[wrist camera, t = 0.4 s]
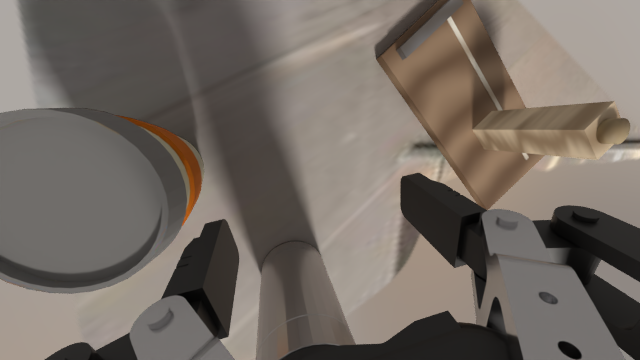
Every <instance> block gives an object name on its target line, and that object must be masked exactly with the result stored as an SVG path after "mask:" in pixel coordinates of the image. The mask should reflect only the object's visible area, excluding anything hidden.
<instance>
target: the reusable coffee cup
mask: <svg viewBox="0 0 640 360" xmlns="http://www.w3.org/2000/svg"><path fill="white" fill-rule="evenodd" d="M203 178H204V164H203V161H202V158H201V156H200V155H199V153H198V151H197V150H196V149H195V148H194V146H193V145H191V144H190V143H189V142H188V141H186V140H185V139H183V138H181V137H179V136H176V135H175V134H173V133H171V132H169V131H168V130H166V129H163V128H161V127H158V126H155V125H152V124H149V123H146V122H142V121H139V120H136V119H132V118H128V117H123V116H117V115H113V114H110V113H107V112H102V111H97V110H92V109H86V108H46V109H22V110H17V111H10V112H4V113H0V279H1V280H3V281H5V282H8V283H11V284H14V285H17V286H20V287H23V288H26V289H31V290H36V291H42V292H48V293H69V294H73V293H81V292H90V291H95V290H99V289H102V288H106V287H110V286H112V285H115V284H117V283H119V282H121V281H123V280H125V279H128V278H129V277H131V276H132V275H133V274H135V273H136V272H138V271H139V270H141V269H142V268H143V267H144V266H146V265H147V264H148V263H149V262H151V261H152V260H153V259H154V258H155V257H157V256H158V255H159V254H160V253H162V252H163V251H164V250H165V249H166V248H167V247H168V246H169V245H170V243H171V242H172V241H173V240H174V239H175V237H176V235H177V234H178V232H179V231H180V229H181V227H182V226H183V224H184V223H185V221H186V220H187V218H188V216H189V215H190V213H191V211H192V209H193V207H194V205H195V203H196V201H197V199H198V197H199V194H200V191H201V184H202V181H203Z"/></svg>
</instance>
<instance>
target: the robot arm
mask: <svg viewBox="0 0 640 360" xmlns="http://www.w3.org/2000/svg"><path fill="white" fill-rule="evenodd" d="M401 210H402V213H403V215H404V217H405V218H406V219H407V220H408V221H409V222H410V223H411V224H412V225H413V226H414V227H415V228H416V229H417V230H418V231H419V232H420V233H421V234H422V235H423V236H424V237H425V238H426V239H427V241H429V242H430V244H431V245H432V246H433V247H434V248H435V249H436V250H437V251H438V252H439V253H440V254H441V255H442V256H443V257H444V258H445V259H446V260H447V261H448V262H449V263H450V264H451V265H452V266H453V267H454V268H456V267H459V266H463V265H466V264H467V265H468V266H469V267H470V268H471V269H472V271H471V279H472V287H473V296H474V305H475V313H476V324H471V323H461V322H459V323H458V322H456V321H455V319H454V318H453V317H452V315H451V314H450V313H449V312H448V311H445V312H442V313H439V314H436V315H433V316H430V317H426V318H423V319H420V320H417V321H414V322H413V323H411V324H410V325H409V326H407V327H406V328H404V329H403V330H402V331H400V332H399V333H397V334H396V335H395V336H393V337H392V338H391V339H389V340H388V341H386V342H385V343H382V344H363V345H356V343H355V341H354V339H353V336H352V334H351V331H350V329H349V326H348V324H347V321H346V319H345V316H344V314H343V311H342V308H341V306H340V303H339V301H338V298H337V296H336V293H335V291H334V288H333V286H332V283H331V281H330V278H329V276H328V273H327V270H326V268H325V265H324V263H323V260H322V258H321V255H320V254H319V252H318V251H317V250H316V249H315V248H314V247H313V246H311V245H309V244H307V243H304V242H298V241H293V242H287V243H283V244H281V245H279V246H277V247H276V248H274V249H273V250H272V251H271V252H270V253H269V254H268V255H267V257H266V258H265V260H264V262H263V266H262V274H261V287H260V302H259V317H258V333H257V348H256V360H626V359H625V358H624V356H623V354H622V352H621V351H620V349H619V347H620V348H621V349H622V350H624V351H625V352H626V353H627V354H628V355H630V356H631V357H632V358H633V359H635V360H640V303H639V302H637V301H635V300H634V299H632V298H631V297H629V296H627V295H626V294H625V293H623V292H622V291H620V290H618V289H617V288H615V287H614V286H612V285H611V284H609V283H608V282H606V281H604V280H603V279H601V278H600V277H598V276H597V275H595V274H594V273H595V270H596V268H597V267H598V265H599V263H600V261H601V260H603V261H605V262H607V263H608V264H610V265H612V266H613V267H615V268H617V269H618V270H620V271H622V272H624V273H626V274H627V275H629V276H631V277H632V278H634V279H636V280H637V281H639V282H640V228H637V227H635V226H633V225H630V224H628V223H626V222H623V221H621V220H619V219H617V218H614V217H612V216H610V215H607V214H605V213H603V212H600V211H597V210H594V209H590V208H586V207H581V206H561V207H558V208H556V209H555V210H554V213H553V217H552V219H551V220H538V221H531V220H530V219H529V218H527V217H526V216H524V215H522V214H520V213H517V212H513V211H510V210H502V209H493V210H488V211H487V210H486V209H484V208H483V207H481V206H479V205H478V204H476V203H474V202H473V201H471V200H469V199H468V198H466V197H465V196H463V195H460V193H458V192H456V191H453V190H452V189H451V188H450V187H448V186H446V185H445V184H443V183H439V182H436V181H433V180H430V179H428V178H427V177H425V176H424V175H422V174H420V173H415V174H411V175H407V176H403V177H402V178H401ZM238 266H239V253H238V249H237V246H236V243H235V241H234V238H233V235H232V233H231V230H230V228H229V225H228V223H227V221H226V220H225V219H222V220H218V221H214V222H210V223H206V224H205V225H204V228H203V230H202V233H201V235H200V237H198V238H194V239H193V240H192V241H191V242H190V243H189V244H188V246H187V247H186V248H185V249H184V251H183V253H182V256H181V258H180V260H179V262H178V264H177V266H176V269H175V271H174V273H173V275H172V277H171V279H170V281H169V283H168V285H167V288H166V290H165V292H164V294H163V296H162V298H161V300H159V301H157V302H156V303H154V304H152V305H151V306H150V307H148V308H147V309H146V310H145V311H144V312H143V313H142V314H141V315H140V316H139V317H138V318H137V320H136V321H135V322H134V324H133V326H132V328H131V331H130V333H128V334H126V335H125V336H123V337H121V338H119V339H117V340H115V341H113V342H111V343H109V344H108V345H106V346H104V347H102V348H100V349H98V350H96V351H95V350H94V349H93V348H92V347H91V346H90V345H89V344H88V343H84V342H81V343H75V344H72V345H69V346H67V347H65V348H63V349H61V350H59V351H57V352H55V353H54V354H52V355H51V356H49V357H48V358H47V359H45V360H235V359H234V358H233V357H232V355H231V354H230V353H229V351H228V350H227V349H226V348H225V346H224V345H223V344H222V342H221V341H220V340H219V339H222V338H226V337H228V336H229V329H230V322H231V315H232V308H233V301H234V294H235V287H236V280H237V273H238ZM618 346H619V347H618Z"/></svg>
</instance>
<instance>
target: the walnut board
mask: <svg viewBox="0 0 640 360" xmlns="http://www.w3.org/2000/svg"><path fill="white" fill-rule="evenodd" d="M376 60H377V61H378V63H379V64H380V65H381V67H382V68H383V70H384V71H385V73H386V74H387V75H388V77H389V78H390V80H391V81H392V83H393V84H394V85H395V87H396V88H397V90H398V91H399V93H400V94H401V95H402V97H403V98H404V100H405V101H406V103H407V104H408V105H409V107H410V108H411V110H412V111H413V113H414V114H415V116H416V117H417V118H418V120H419V121H420V123H421V124H422V126H423V127H424V128H425V130H426V131H427V133H428V134H429V136H430V137H431V138H432V140H433V141H434V143H435V144H436V146H437V147H438V148H439V150H440V151H441V153H442V154H443V156H444V157H445V158H446V160H447V161H448V163H449V164H450V166H451V167H452V168H453V170H454V171H455V173H456V174H457V176H458V177H459V178H460V180H461V181H462V183H463V184H464V185H465V187H466V188H467V190H468V191H469V193H470V194H471V196H472V197H473V198H474V200H475V201H476V203H477V204H478V205H479V206H481V207H483V208H484V209H486V210H488V209H489V208H490V207H491V206H492V205H493V204H494V203H495V202H496V201H497V200H498V199H500V197H502V195H504V194H505V193H506V192H507V191H508V190H509V189H510V188H511V187H512V186H513V185H514V184H515V183H516V182H517V181H518V180H519V179H520V178H521V177H523V176H524V175H525V174H526V173H527V172H528V171H529V170H530V169H531V168H532V167H533V166H534V165H535V164H536V163H537V162H538V161H539V160H540V159H541V158H542V157H543V156H545V155H539V154H529V153H518V152H508V151H497V150H487V149H484V148H483V146H482V145H481V143H480V141H479V140H478V138H477V137H476V135H475V133H474V132H473V130H472V129H473V128H474V127H476V126H477V125H478V124H479V123H480V122H481V121H482V120H483V119H484V118H485V117H486V116H487V115H488V114H489V113H490V112H491V111H500V110H512V109H524V108H526V107H525V105H524V103H523V101H522V99H521V97H520V95H519V93H518V91H517V89H516V87H515V86H514V84H513V82H512V80H511V78H510V76H509V74H508V72H507V70H506V68H505V66H504V64H503V62H502V60H501V58H500V56H499V54H498V53H497V51H496V49H495V47H494V45H493V43H492V41H491V39H490V37H489V35H488V33H487V31H486V29H485V27H484V25H483V23H482V21H481V20H480V18H479V16H478V14H477V12H476V10H475V8H474V6H473V4H472V2H471V0H438V1H437V2H436V3H435V4H434V5H433V6H432V7H431V8H430V9H429V10H428V11H427V12H426V13H425V14H424V15H422V16H421V17H420V18H419V19H418V20H417V21H416V22H415V23H414V24H413V25H412V26H411V27H410V28H409V29H408V30H407V31H406V32H405V33H404V34H402V35H401V36H400V37H399V38H398V39H397V40H396V41H395V42H394V43H393V44H392V45H391V46H390V47H389V48H388V49H387V50H386V51H385V52H384V53H383V54H381V55H380V56H379V57H378V58H377V59H376Z"/></svg>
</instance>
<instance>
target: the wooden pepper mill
mask: <svg viewBox="0 0 640 360" xmlns="http://www.w3.org/2000/svg"><path fill="white" fill-rule="evenodd" d="M472 130H473V132H474V133H475V135H476V137H477V138H478V140H479V141H480V143H481V145H482V146H483V148H484V149H487V150H497V151H508V152H518V153H529V154H539V155H550V156H561V157H571V158H582V159H592V160H598V159H599V158H600V157H601V156H602V155H603V154H604V153H605V152H606V151H607V150H608V149H609V148H610V147H612V146H613V145H614V144H620V143H622V142H623V141H624V140H625V139H626V138H627V136H628V134H629V131H630V123H629V121H628V120H627V119H625V118H620V115H619V112H618V110H617V107H616V104H615V102H614V101H611V102H598V103H586V104H574V105H561V106H549V107H537V108H524V109H512V110H500V111H491V112H490V113H489V114H488V115H487V116H486V117H485V118H484V119H483V120H482V121H481V122H480V123H479V124H478V125H477V126H476V127H474V128H473V129H472Z"/></svg>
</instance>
